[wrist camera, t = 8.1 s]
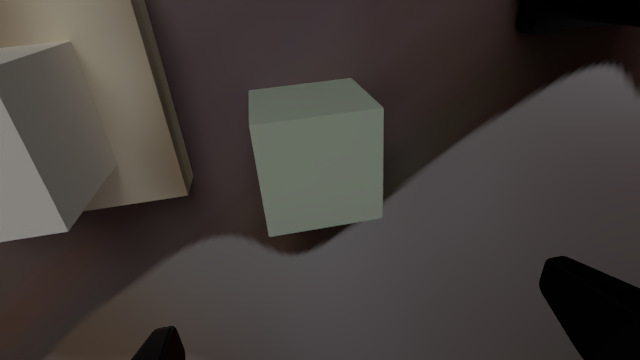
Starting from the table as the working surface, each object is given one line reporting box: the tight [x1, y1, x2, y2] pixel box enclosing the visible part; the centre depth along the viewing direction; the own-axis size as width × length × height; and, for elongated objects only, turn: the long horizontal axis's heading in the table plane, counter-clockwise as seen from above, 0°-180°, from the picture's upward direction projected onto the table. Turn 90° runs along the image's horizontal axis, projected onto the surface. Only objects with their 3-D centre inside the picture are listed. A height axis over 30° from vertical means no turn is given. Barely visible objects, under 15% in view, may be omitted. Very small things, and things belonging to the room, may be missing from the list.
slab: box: [0, 0, 193, 211], centre depth 15 cm, size 10×9×2 cm
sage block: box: [249, 78, 384, 237], centre depth 17 cm, size 5×5×5 cm
